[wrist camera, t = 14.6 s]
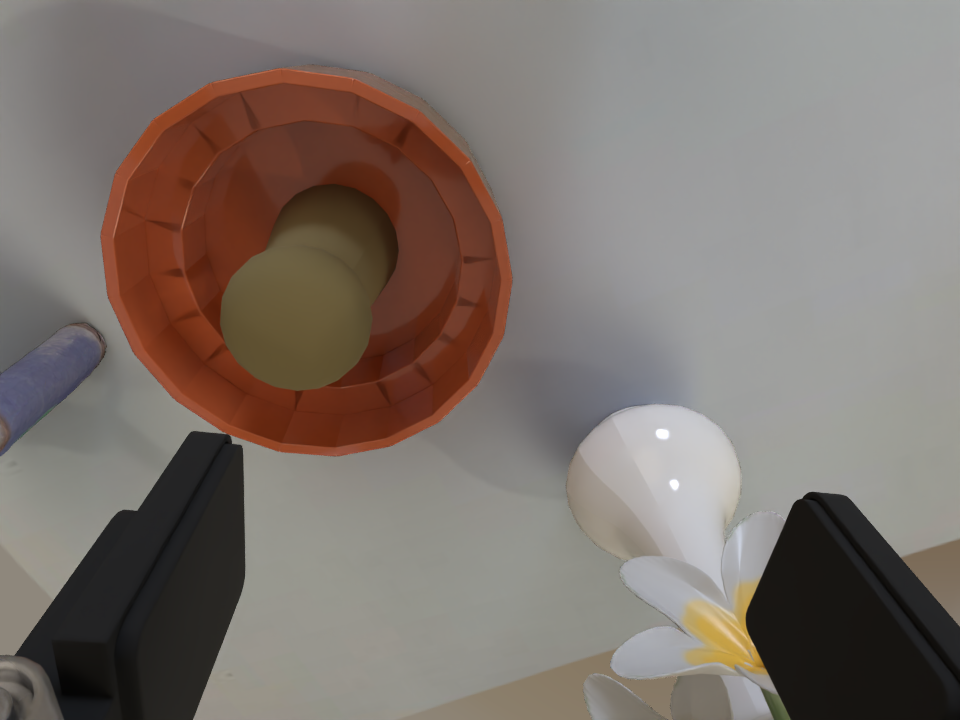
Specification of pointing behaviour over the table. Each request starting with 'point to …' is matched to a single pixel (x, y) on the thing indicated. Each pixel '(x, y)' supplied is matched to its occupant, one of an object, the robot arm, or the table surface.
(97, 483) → the table surface
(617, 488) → the flower vase
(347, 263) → the olive peg figure
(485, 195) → the orange plant pot
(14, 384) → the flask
